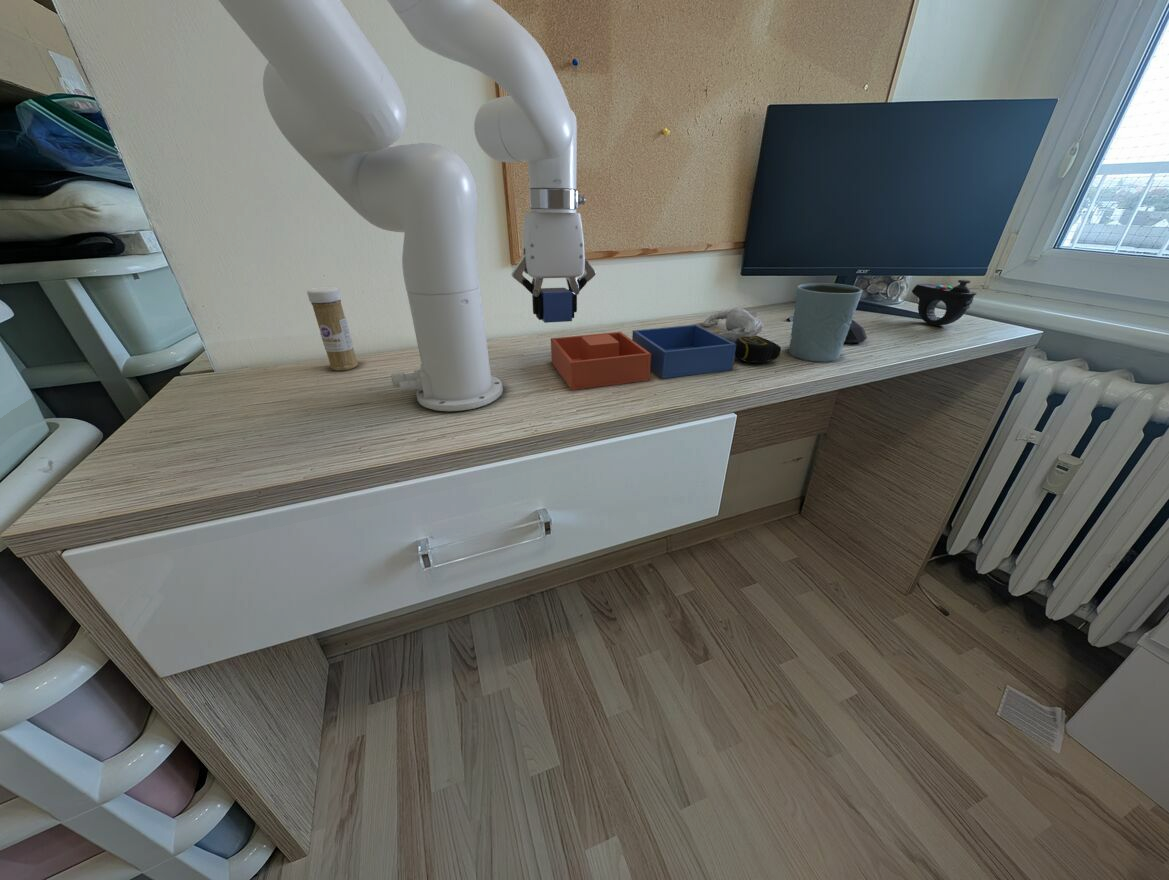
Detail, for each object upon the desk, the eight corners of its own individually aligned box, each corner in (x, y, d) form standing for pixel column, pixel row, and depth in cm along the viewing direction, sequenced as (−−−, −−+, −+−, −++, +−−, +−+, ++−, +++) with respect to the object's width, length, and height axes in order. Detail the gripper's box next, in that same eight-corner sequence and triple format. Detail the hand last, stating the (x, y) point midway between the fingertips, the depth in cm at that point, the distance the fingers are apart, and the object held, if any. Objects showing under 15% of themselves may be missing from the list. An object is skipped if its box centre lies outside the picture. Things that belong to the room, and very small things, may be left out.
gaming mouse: (818, 324, 99) (822, 306, 97) (872, 343, 87) (879, 323, 85) (795, 327, 97) (799, 309, 95) (847, 346, 85) (853, 326, 83)
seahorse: (682, 320, 99) (736, 330, 81) (724, 298, 100) (786, 303, 82) (688, 341, 101) (741, 355, 83) (729, 319, 103) (791, 329, 85)
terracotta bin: (571, 390, 67) (570, 362, 65) (551, 362, 78) (550, 338, 76) (649, 380, 70) (651, 353, 68) (620, 355, 81) (620, 331, 79)
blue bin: (662, 378, 71) (664, 352, 69) (631, 354, 82) (632, 330, 80) (732, 369, 74) (736, 344, 72) (693, 347, 85) (696, 324, 83)
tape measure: (780, 364, 77) (784, 343, 75) (747, 368, 75) (751, 347, 73) (755, 352, 82) (759, 332, 81) (724, 356, 81) (727, 336, 79)
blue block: (544, 322, 76) (543, 293, 73) (538, 316, 80) (537, 288, 78) (572, 321, 77) (572, 292, 75) (564, 315, 81) (564, 287, 79)
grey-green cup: (846, 365, 76) (868, 294, 70) (784, 359, 79) (800, 291, 73) (837, 348, 84) (856, 283, 78) (781, 343, 87) (795, 280, 81)
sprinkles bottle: (326, 371, 75) (300, 291, 68) (338, 362, 79) (314, 285, 72) (352, 371, 75) (329, 290, 68) (363, 362, 79) (342, 285, 72)
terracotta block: (590, 374, 71) (590, 345, 69) (581, 364, 76) (581, 336, 73) (618, 371, 73) (619, 342, 70) (608, 361, 77) (608, 334, 74)
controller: (950, 331, 93) (970, 283, 88) (899, 318, 104) (914, 273, 99) (965, 329, 95) (986, 281, 90) (913, 316, 105) (929, 272, 100)
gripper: (595, 204, 75) (593, 311, 84) (496, 202, 71) (504, 315, 79) (610, 203, 69) (606, 319, 77) (503, 201, 64) (511, 324, 73)
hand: (555, 316), depth 78 cm, fingers closed on blue block, 5 cm apart
